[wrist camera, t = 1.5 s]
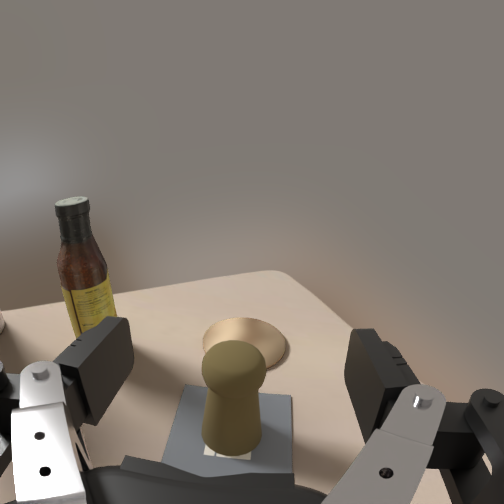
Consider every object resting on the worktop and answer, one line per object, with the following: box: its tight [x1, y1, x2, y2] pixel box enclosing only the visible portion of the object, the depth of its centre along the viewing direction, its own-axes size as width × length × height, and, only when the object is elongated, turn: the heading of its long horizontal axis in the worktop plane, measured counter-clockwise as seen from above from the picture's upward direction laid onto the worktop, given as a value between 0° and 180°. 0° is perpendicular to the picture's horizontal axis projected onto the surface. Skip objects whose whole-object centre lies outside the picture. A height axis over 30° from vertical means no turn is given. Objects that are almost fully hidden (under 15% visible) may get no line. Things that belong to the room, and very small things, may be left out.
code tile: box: [161, 384, 292, 477], centre depth 28 cm, size 12×12×1 cm
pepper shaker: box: [201, 340, 267, 456], centre depth 26 cm, size 6×6×11 cm
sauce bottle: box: [55, 197, 117, 339], centre depth 34 cm, size 7×6×20 cm
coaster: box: [203, 318, 286, 369], centre depth 42 cm, size 11×11×1 cm
